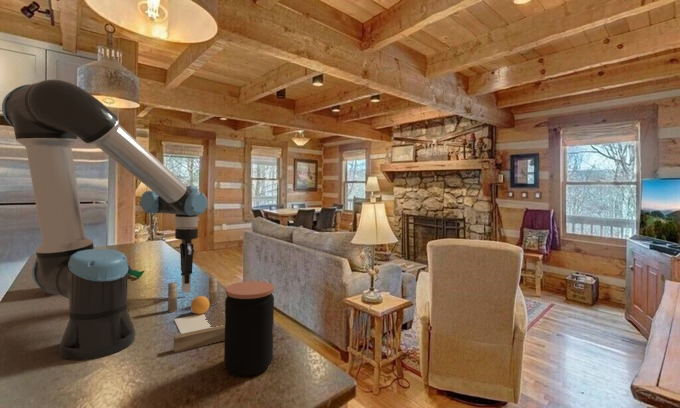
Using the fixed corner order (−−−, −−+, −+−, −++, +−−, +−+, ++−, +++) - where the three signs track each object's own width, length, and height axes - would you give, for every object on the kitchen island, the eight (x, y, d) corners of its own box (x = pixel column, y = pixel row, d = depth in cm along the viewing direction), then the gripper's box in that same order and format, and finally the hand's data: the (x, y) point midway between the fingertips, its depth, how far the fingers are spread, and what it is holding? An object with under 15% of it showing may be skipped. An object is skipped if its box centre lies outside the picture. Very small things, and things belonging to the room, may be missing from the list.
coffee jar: (282, 365, 74) (283, 287, 74) (240, 385, 66) (241, 298, 66) (255, 349, 81) (256, 278, 81) (215, 365, 73) (216, 286, 73)
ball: (206, 310, 107) (211, 314, 103) (188, 313, 104) (192, 317, 99) (207, 294, 108) (211, 296, 103) (189, 296, 104) (193, 298, 100)
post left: (177, 311, 105) (177, 283, 104) (168, 313, 103) (168, 285, 103) (176, 308, 107) (176, 282, 107) (167, 310, 105) (167, 283, 105)
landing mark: (234, 325, 95) (234, 325, 95) (182, 337, 87) (182, 336, 87) (221, 310, 106) (221, 310, 106) (174, 319, 98) (174, 319, 98)
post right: (217, 304, 112) (218, 278, 112) (209, 305, 111) (210, 279, 110) (215, 302, 114) (216, 277, 114) (208, 303, 113) (208, 278, 112)
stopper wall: (254, 333, 90) (254, 321, 90) (174, 352, 79) (175, 338, 78) (252, 331, 92) (252, 318, 92) (173, 349, 80) (173, 335, 80)
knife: (118, 274, 148) (118, 263, 148) (122, 273, 150) (122, 262, 150) (143, 280, 139) (143, 269, 138) (147, 279, 140) (147, 268, 140)
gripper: (201, 229, 115) (200, 294, 116) (194, 225, 126) (193, 285, 127) (178, 230, 111) (177, 298, 112) (172, 226, 122) (172, 288, 122)
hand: (186, 291), depth 119 cm, fingers closed
